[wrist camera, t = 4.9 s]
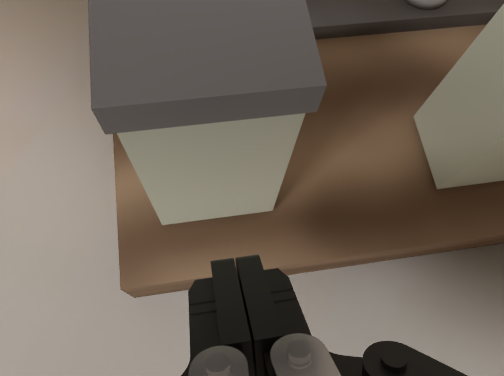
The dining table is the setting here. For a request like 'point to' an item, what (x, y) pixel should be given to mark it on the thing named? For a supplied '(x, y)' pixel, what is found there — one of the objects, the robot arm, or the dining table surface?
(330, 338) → the dining table surface
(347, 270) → the dining table surface
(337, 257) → the button board
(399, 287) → the dining table surface
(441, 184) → the plunger
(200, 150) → the marked plunger
